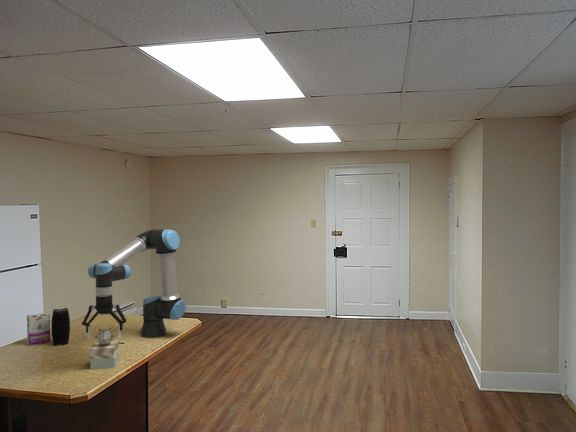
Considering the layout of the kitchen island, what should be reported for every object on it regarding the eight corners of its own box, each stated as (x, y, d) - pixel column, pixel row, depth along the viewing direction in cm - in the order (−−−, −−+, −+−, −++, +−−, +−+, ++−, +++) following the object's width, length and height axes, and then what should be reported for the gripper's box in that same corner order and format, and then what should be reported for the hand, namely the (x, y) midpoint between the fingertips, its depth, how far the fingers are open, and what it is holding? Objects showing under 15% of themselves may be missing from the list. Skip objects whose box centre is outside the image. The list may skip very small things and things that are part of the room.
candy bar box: (48, 339, 263) (48, 312, 262) (50, 341, 259) (50, 313, 259) (26, 343, 256) (26, 315, 255) (28, 345, 252) (28, 316, 251)
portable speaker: (48, 344, 254) (48, 310, 253) (64, 340, 261) (64, 307, 261) (57, 347, 249) (56, 312, 249) (73, 342, 257) (72, 308, 256)
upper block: (118, 351, 227) (118, 341, 227) (113, 358, 216) (113, 347, 216) (96, 352, 225) (96, 342, 225) (89, 359, 214) (89, 349, 214)
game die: (106, 353, 219) (104, 340, 213) (92, 346, 221) (89, 333, 215) (119, 340, 226) (117, 327, 220) (105, 333, 228) (103, 320, 222)
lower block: (118, 360, 227) (118, 350, 227) (114, 368, 216) (114, 357, 216) (95, 362, 225) (95, 352, 225) (90, 370, 214) (90, 359, 214)
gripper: (131, 292, 226) (132, 334, 227) (78, 294, 221) (79, 337, 221) (129, 295, 219) (130, 338, 219) (74, 297, 214) (75, 342, 214)
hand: (104, 338), depth 220 cm, fingers open, 13 cm apart
